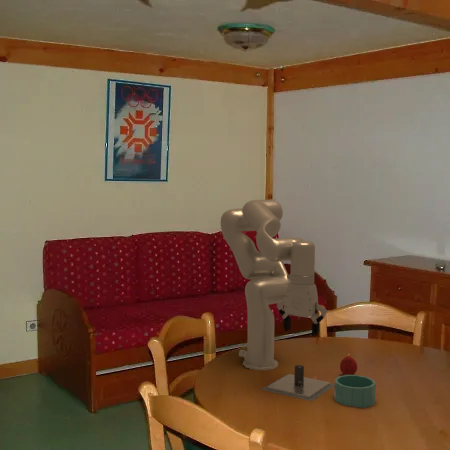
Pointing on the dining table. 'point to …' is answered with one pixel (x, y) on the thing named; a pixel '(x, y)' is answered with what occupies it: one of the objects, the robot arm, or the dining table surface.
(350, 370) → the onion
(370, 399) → the bowl
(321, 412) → the dining table surface
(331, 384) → the mat
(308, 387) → the lid
